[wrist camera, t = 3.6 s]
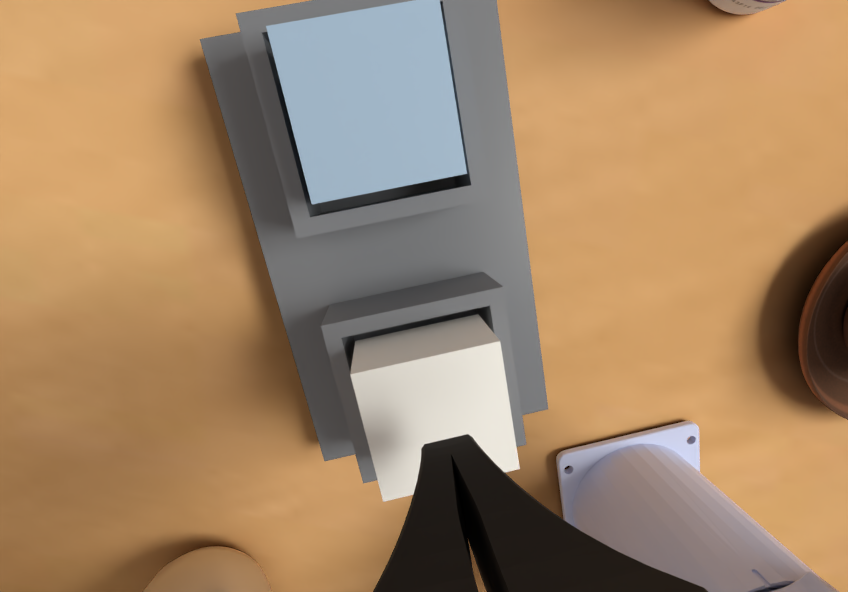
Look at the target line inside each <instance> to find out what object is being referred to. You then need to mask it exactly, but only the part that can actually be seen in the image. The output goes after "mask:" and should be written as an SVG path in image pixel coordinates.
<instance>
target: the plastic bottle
mask: <svg viewBox="0 0 848 592" xmlns="http://www.w3.org/2000/svg"><path fill="white" fill-rule="evenodd" d="M143 592H271V587H270V584H269V582H268V580H267V578H266V576H265V574H264V572H263V570H262V568H261V567H260V566H259V564H258V563H257V562H256V561H255V560H254V559H253V558H251V557H250V556H249V555H247V554H245V553H243V552H241V551H239V550H236V549H233V548H228V547H222V546H210V547H204V548H199V549H196V550H193V551H190V552H188V553H186V554H184V555H182V556H180V557H178V558H176V559H175V560H173V561H171V562H169V563H168V564H167V565H166V566H164V567H163V568H162V569H161V570H160V571H159V572H158V573H157V575H156V576H155V577H154V578H153V579H152V581H151V582H150V583H149V584H148V586H147V587H146V588H145V589H144V591H143Z"/></svg>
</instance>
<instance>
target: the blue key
mask: <svg viewBox="0 0 848 592" xmlns="http://www.w3.org/2000/svg"><path fill="white" fill-rule="evenodd" d="M266 28H267V32H268V36H269V40H270V44H271V48H272V52H273V55H274V59H275V63H276V67H277V71H278V75H279V79H280V83H281V87H282V90H283V94H284V98H285V102H286V106H287V110H288V114H289V118H290V122H291V126H292V129H293V133H294V137H295V141H296V145H297V149H298V153H299V157H300V161H301V164H302V168H303V172H304V176H305V180H306V184H307V188H308V192H309V196H310V200H311V203H312V204H317V203H322V202H327V201H332V200H337V199H342V198H347V197H352V196H357V195H362V194H367V193H372V192H377V191H382V190H387V189H393V188H398V187H403V186H408V185H413V184H418V183H423V182H428V181H433V180H438V179H443V178H448V177H453V176H458V175H463V174H467V170H466V164H465V158H464V151H463V145H462V139H461V132H460V126H459V120H458V113H457V107H456V100H455V94H454V88H453V81H452V75H451V69H450V62H449V56H448V50H447V43H446V37H445V31H444V24H443V18H442V12H441V5H440V0H413V1H408V2H402V3H396V4H390V5H385V6H379V7H373V8H367V9H362V10H356V11H350V12H344V13H338V14H333V15H327V16H321V17H315V18H310V19H304V20H298V21H292V22H287V23H281V24H275V25H269V26H266Z"/></svg>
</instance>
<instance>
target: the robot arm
mask: <svg viewBox="0 0 848 592" xmlns="http://www.w3.org/2000/svg"><path fill="white" fill-rule="evenodd" d="M689 437H690V438H689ZM688 438H689V439H688ZM687 439H688V440H687ZM556 463H557V471H558V479H559V487H560V495H561V503H562V511H563V519H564V520H563V519H562V518H560V517H559V516H557V515H556V514H554V513H553V512H552V511H550V510H549V509H547V508H546V507H545V506H543V505H542V504H541V503H539V502H538V501H537V500H536V499H534V498H533V497H532V496H531V495H529V494H528V493H527V492H526V491H525V490H523V489H522V488H521V487H520V486H519V485H518V484H516V483H515V482H514V481H513V480H512V479H511V478H510V477H509V476H508V475H507V474H506V473H505V472H503V471H502V470H501V469H500V468H499V467H498V466H497V465H496V464H495V463H494V462H493V461H492V460H491V459H490V457H489V456H488V455H487V454H486V453H485V452H484V451H483V450H482V449H481V447H480V446H479V445H478V444H477V443H476V441H475V440H474V439H473V437H472V436H470V435H469V434H466V435H462V436H457V437H453V438H449V439H444V440H440V441H436V442H432V443H427V444H424V446H423V447H422V448H421V462H420V469H419V474H418V479H417V483H416V487H415V490H414V494H413V498H412V502H411V505H410V508H409V511H408V514H407V517H406V520H405V523H404V525H403V528H402V531H401V533H400V536H399V538H398V541H397V543H396V546H395V548H394V550H393V552H392V555H391V557H390V559H389V561H388V563H387V565H386V567H385V569H384V571H383V573H382V575H381V577H380V579H379V581H378V583H377V585H376V587H375V589H374V591H373V592H478V589H477V585H476V582H475V578H474V574H473V569H472V563H471V556H470V550H469V543H470V546H471V549H472V551H473V554H474V557H475V560H476V563H477V566H478V569H479V571H480V574H481V577H482V580H483V583H484V585H485V588H486V591H487V592H839V591H838V590H836V589H835V588H834V587H832V586H831V585H830V584H828V583H827V582H826V581H824V580H823V579H822V578H820V577H819V576H818V575H817V574H816V573H815V572H814V571H812V570H811V569H810V568H809V567H808V566H807V565H805V564H804V563H803V562H802V561H801V560H800V559H799V558H797V557H796V556H795V555H794V554H793V553H792V552H791V551H789V550H788V549H787V548H786V547H785V546H784V545H783V544H781V543H780V542H779V541H778V540H777V539H776V538H775V537H773V536H772V535H771V534H770V533H769V532H768V531H767V530H765V529H764V528H763V527H762V526H761V525H760V524H758V523H757V522H756V521H755V520H754V519H753V518H752V517H750V516H749V515H748V514H747V513H746V512H745V511H744V510H742V509H741V508H740V507H739V506H738V505H737V504H736V503H734V502H733V501H732V500H731V499H730V498H729V497H728V496H726V495H725V494H724V493H723V492H722V491H721V490H719V489H718V488H717V487H716V486H715V485H714V484H713V483H711V482H710V481H709V480H708V479H707V478H706V477H705V476H703V475H702V474H701V473H700V450H699V427H698V426H697V425H696V424H695V423H693V422H692V421H684V422H680V423H675V424H671V425H667V426H663V427H659V428H655V429H650V430H646V431H642V432H638V433H634V434H630V435H625V436H621V437H617V438H613V439H609V440H605V441H600V442H596V443H592V444H588V445H584V446H579V447H575V448H571V449H567V450H563V451H561V452H560V453H559V454H558V455H557V457H556ZM567 466H570V467H569V468H568V469H565V467H567ZM468 540H469V543H468Z"/></svg>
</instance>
